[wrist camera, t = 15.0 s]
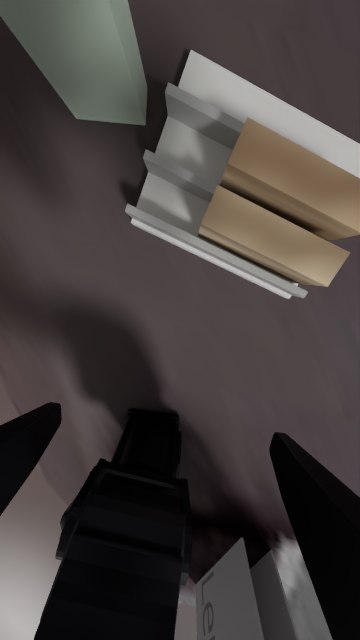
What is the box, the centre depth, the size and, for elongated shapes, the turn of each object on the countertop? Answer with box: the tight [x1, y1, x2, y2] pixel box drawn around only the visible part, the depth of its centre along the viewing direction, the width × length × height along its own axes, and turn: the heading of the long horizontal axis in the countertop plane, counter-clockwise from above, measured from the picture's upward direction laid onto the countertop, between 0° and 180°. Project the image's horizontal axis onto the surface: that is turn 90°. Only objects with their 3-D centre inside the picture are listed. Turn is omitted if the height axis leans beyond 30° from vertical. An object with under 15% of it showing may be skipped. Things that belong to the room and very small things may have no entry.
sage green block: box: [0, 0, 147, 126], centre depth 10 cm, size 2×6×11 cm, turn 84°
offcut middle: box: [219, 118, 360, 241], centre depth 14 cm, size 2×10×4 cm, turn 66°
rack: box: [125, 50, 360, 299], centre depth 15 cm, size 13×16×3 cm
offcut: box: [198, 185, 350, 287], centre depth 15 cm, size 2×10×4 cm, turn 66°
